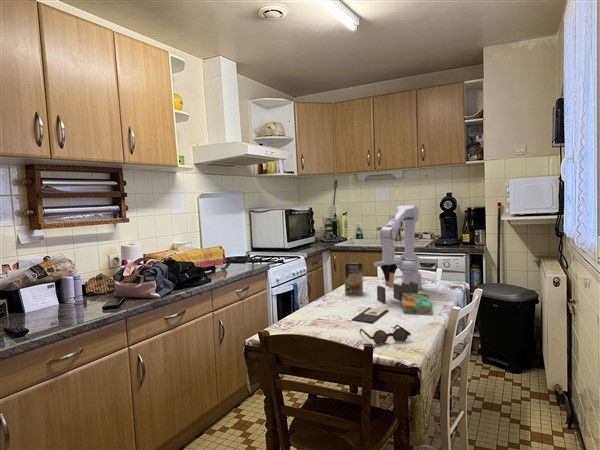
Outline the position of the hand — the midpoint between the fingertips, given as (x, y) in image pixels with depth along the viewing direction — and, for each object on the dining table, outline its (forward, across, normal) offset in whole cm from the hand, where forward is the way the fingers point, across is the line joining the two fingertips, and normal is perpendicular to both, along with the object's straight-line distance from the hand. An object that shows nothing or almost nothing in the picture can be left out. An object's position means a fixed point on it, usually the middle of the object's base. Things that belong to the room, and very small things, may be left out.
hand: (389, 280), depth 186 cm
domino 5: (+10, +14, 0) cm, 17 cm away
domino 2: (+3, 0, 0) cm, 3 cm away
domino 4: (+10, +9, 0) cm, 13 cm away
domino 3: (+10, +4, 0) cm, 11 cm away
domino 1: (+10, -4, 0) cm, 11 cm away
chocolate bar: (+10, -20, -17) cm, 28 cm away
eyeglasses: (+10, -26, -39) cm, 48 cm away
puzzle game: (+10, +4, -15) cm, 19 cm away
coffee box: (+10, -10, +19) cm, 23 cm away
